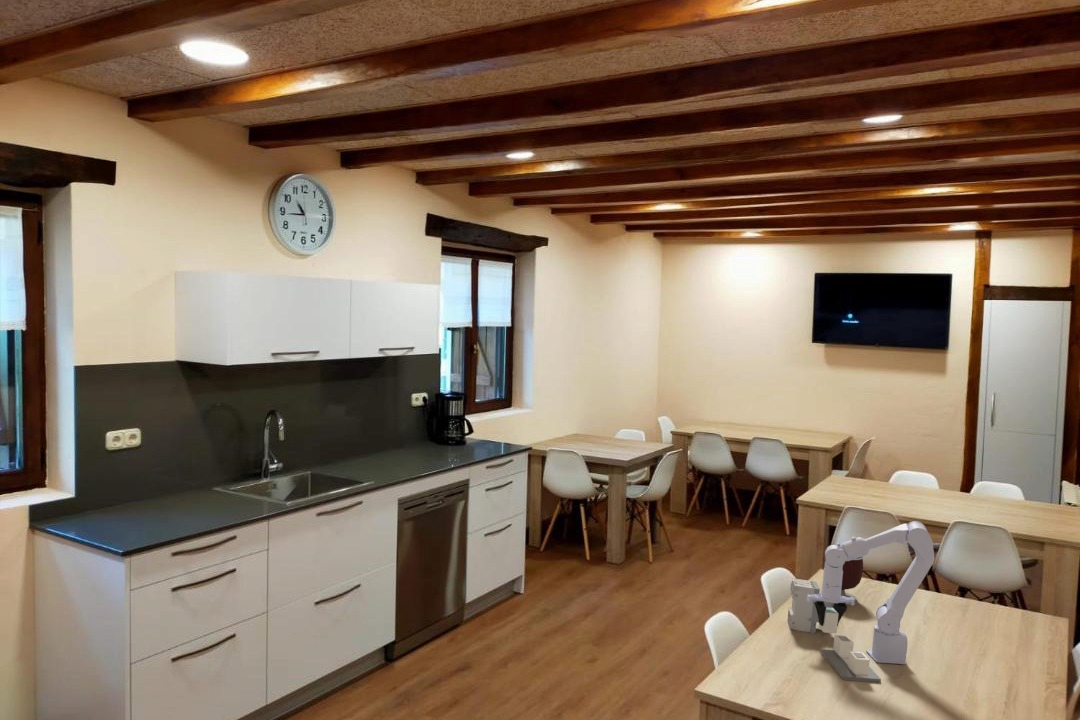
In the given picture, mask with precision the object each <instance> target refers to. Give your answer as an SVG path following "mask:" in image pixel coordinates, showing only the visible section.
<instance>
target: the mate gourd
mask: <svg viewBox="0 0 1080 720" xmlns="http://www.w3.org/2000/svg"><path fill="white" fill-rule="evenodd" d="M863 558H864V556H862V557H859V558H856V559H853V560H850V561H845V563H844V564H843V568H842V570H843V577H842V588H841V596H845V597H852V598H853V599H854V600H855V601H854V603H855V604H857V603H858V598H857V597H856V596H855V595H853V594H850V593H849V592H846V590H852V589H855V588H856V587H857V586H858V585H860V583H861V581H862V578H863V573H864V560H863ZM825 562H826V559H825V558H823V566H822V567H823V569H824V567H825ZM856 602H857V603H856Z"/></svg>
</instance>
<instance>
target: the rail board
mask: <svg viewBox="0 0 1080 720" xmlns="http://www.w3.org/2000/svg"><path fill="white" fill-rule="evenodd" d="M854 645H855V644H854V641H853V640H852V639H851V638H850V637H849V636H848V635H838V634H834V638H833V647H832V649H824V648H822V649H820V653H821V655H822V656H823V657H824V658H825V659H826V661H827V662H828V663H829V665H830V666H831V665H832V668H833V670H835V672H836V673H837V675H839V677H840V678H841V679H842V680H843V681H854V682H867V683H869V682H870V683H881V682H882V679H881V677H880V676H879V675H878V674H877V673H876V672H875V671H874V670H873V669H872V668H871V666H870V663H871V662H870V659H869V657H868V656H867V655H866V654H865V653H864V652H863V651H854Z"/></svg>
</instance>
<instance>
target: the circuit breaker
mask: <svg viewBox="0 0 1080 720" xmlns="http://www.w3.org/2000/svg"><path fill="white" fill-rule="evenodd" d="M789 590H790V595H791V607H788V611H787V624H788V627H789V630H794V631H800V632H806V633H813V634H815V633H816V631H817V630H816V629H817V623H819V619H818V613H817V610H816V607H815V604H814V602H812V603H809V602H808V601H807V594H808V595H813V594H822V592H821V591H820V588H819V585H818V583H817V581H814V580H806V579H801V578H800V579H799V578H792V579H791V583H790V589H789ZM824 604H825V607H826V608H834V604H833V603H824Z"/></svg>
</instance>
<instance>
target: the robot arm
mask: <svg viewBox="0 0 1080 720" xmlns="http://www.w3.org/2000/svg"><path fill="white" fill-rule="evenodd" d="M907 542H908V544H909V545H910V546H911V548H912V549H913V550H914V553H915V556H914V559H913V560H912V562H911V563H910V564H909V567H908V568H907V570H906V571H905V573H904V575H903V576H902V578H901V580H900V581H899V583H898V584H897V586H896V588H895V589H894V590H893V592H892V594H891V596H890V597H889V598H887V599H886V601H885V602H884V603H883V604H882V605H880V606H878V608H877V609H876V611H875V615H876V617H877V618H876V619H877V623H876V624H874V625H873V634H872V635H873V636H872V644H871V646H872V647H871V649H866V650H865V651H866V652H867V654H868V655H869V656H870V657H871V658H872V659H873V661H875V662H876V663H880V664H882V663H884V664H896V665H898V664H899V665H907V653H908V645H909V644H908V636H907V634H906V633H905V631H901V630H900V629H901V620H902V618H903V617H904V613H905V609H906V608H907V606H908V604H909V602H910V601H911V600H912V598H913V596H915V593H916V591H917V590H918V589H919V586H921V583H922V582H923V580H924V579H925V577H926V576H927V574H928V573H929V571H930V569H931V567H933V564H934V563H935V550H934V542H933V539H932V537H931V535H930V533H929V531H928V529H927V527H926V526H925V524H923V522H920V521H918V520H917V521H915V520H914V521H910V522H908V523H902V524H900V525H897V526H894V527H892V528H890V529H887V530H885V531H884V530H883V532H882V531H881V533H878V534H875V535H872V536H870V537H866V538H863V537H861V536H859V537H856V536H851V539H850V540H847V541H844V542H837V543H836V544H832V545H831V544H830V545H829V546H827V548H826V549H825V551H824V559H826V562H825V567H824V568H823V576H822V587H821V593H822V594H813V595H808V594H807V601H808V602H809V603H812V602H814V604H815V607H816V610H817V613H818V619H819V622H818V625H819V624H820V625H821V626H823V624H824V615H825V611H826V607H825V604H824V603H832V604H833V606H834V609H835V610H836V611H837V613H838V624H837V628H838V627H839V624H840V620H841V619H842V617H843V615H844V614H845V612H847V610H848V605H849V606H855V604H854V601H855V600H854V599H853V598H852V597H845V596H841V588H842V577H843V570H842V568H843V564H844V563H845V561H850V560H853V559H856V558H859V557H862V556H863V557H864V556H867V555H869V553H870V550H872V549H876V548H879V547H883V546H886V545H889V544H892V543H898V544H902V545H905V546H906V545H907Z"/></svg>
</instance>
